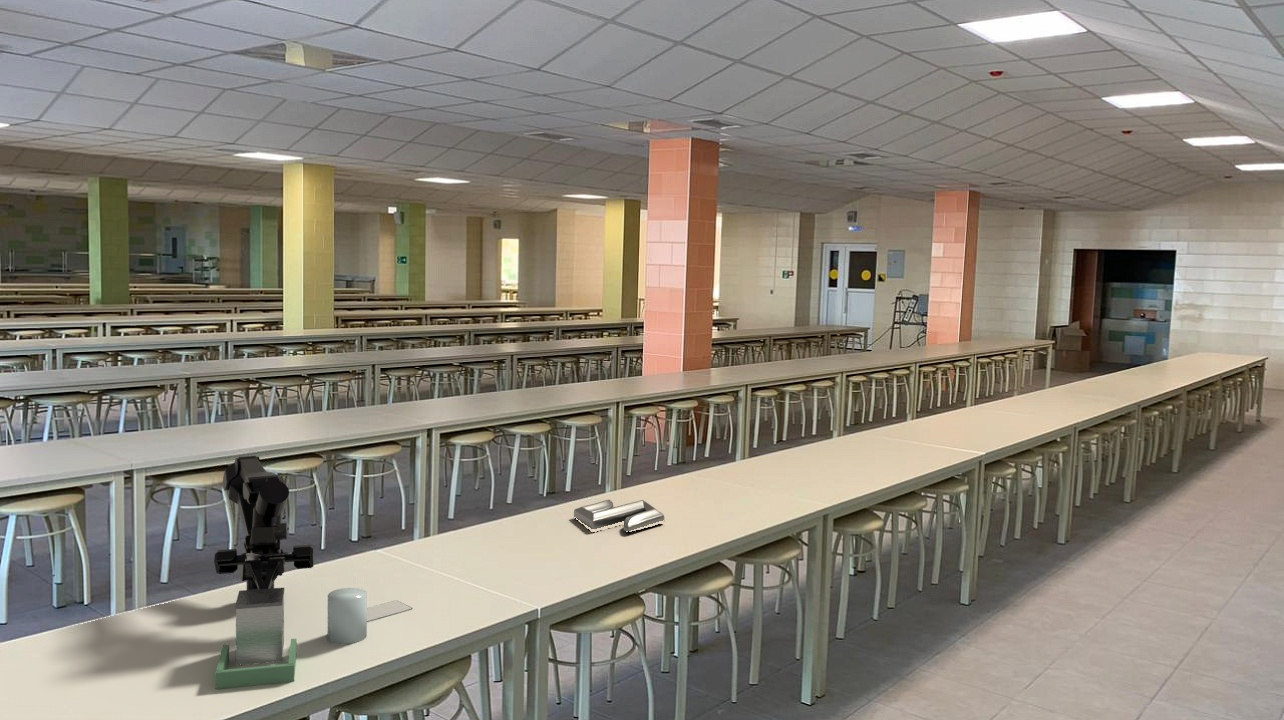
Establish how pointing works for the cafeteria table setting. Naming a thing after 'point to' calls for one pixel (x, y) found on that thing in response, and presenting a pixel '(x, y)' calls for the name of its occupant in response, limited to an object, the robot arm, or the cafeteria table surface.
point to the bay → (254, 671)
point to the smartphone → (386, 610)
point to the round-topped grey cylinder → (347, 615)
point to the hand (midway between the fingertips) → (263, 597)
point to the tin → (259, 626)
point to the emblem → (618, 514)
